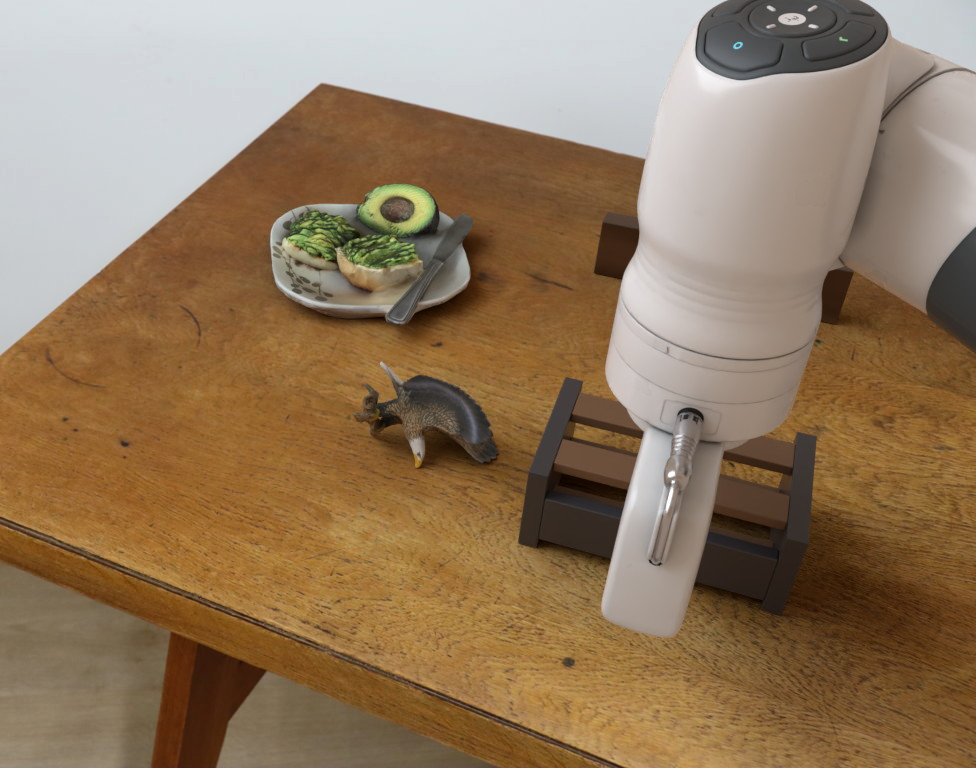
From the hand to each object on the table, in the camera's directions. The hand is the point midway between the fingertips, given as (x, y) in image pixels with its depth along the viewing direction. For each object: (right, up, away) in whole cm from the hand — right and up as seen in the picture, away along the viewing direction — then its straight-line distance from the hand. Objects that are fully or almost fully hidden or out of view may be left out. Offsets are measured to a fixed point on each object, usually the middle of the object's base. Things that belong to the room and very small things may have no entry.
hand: (651, 561), depth 60 cm
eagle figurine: (-12, +5, +16) cm, 20 cm away
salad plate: (-16, +20, +34) cm, 43 cm away
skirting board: (+13, +17, +33) cm, 39 cm away
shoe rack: (+3, +1, +11) cm, 11 cm away
